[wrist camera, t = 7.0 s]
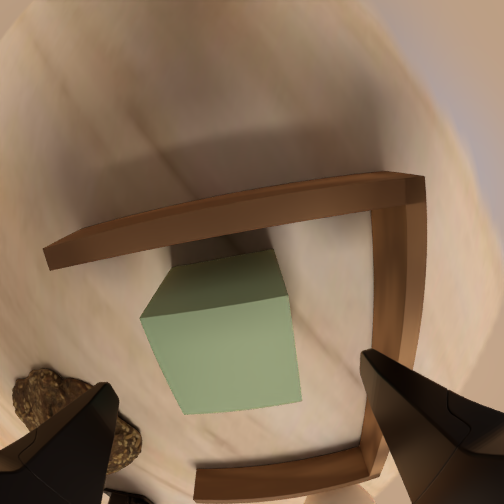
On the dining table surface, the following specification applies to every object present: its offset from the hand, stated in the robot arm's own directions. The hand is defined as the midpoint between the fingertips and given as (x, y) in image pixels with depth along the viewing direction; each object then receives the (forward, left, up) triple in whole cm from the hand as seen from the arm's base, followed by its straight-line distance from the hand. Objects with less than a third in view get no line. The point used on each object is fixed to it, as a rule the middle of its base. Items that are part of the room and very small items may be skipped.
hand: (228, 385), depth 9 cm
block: (0, 0, -6) cm, 6 cm away
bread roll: (-10, +16, -6) cm, 20 cm away
